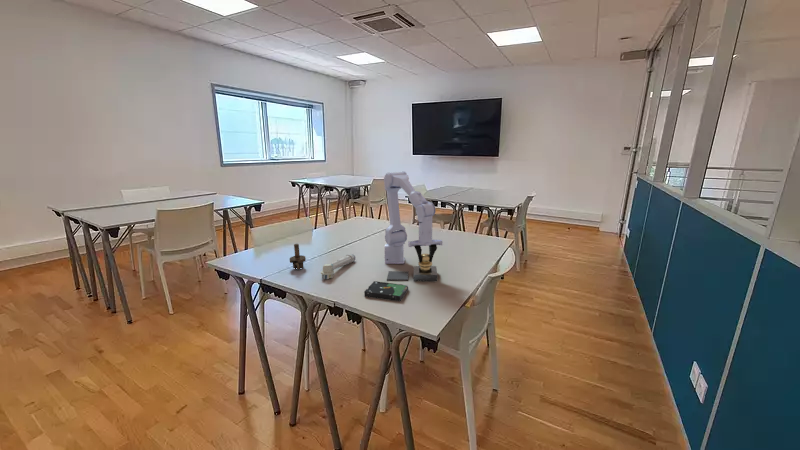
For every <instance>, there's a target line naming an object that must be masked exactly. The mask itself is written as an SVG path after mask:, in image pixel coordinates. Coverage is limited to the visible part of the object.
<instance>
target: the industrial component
mask: <svg viewBox="0 0 800 450" xmlns="http://www.w3.org/2000/svg"><path fill="white" fill-rule="evenodd" d="M293 249H294V255H293V256H290V257H289V264H290V263H291V264H292V268H295V269H296V268H297V269H300V268H303V267H304V263H305V262H306V260H307V257H306V256H305V255H300V245H299V243H294V244H293ZM297 269H296V270H297ZM303 269H304V268H303ZM300 270H301V269H300Z"/></svg>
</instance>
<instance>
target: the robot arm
mask: <svg viewBox="0 0 800 450" xmlns="http://www.w3.org/2000/svg"><path fill="white" fill-rule="evenodd" d="M409 179H410V178H409V175H408V174H407V172H406V171H398V172H396V171H395V172H386V173H385V175H384V177H383V183H384V190H385V191H386V197H387V207H388V219H389V225H388V227H386V229H384V230H385V235H384V239H385V240H384V241H385V242H386V243H385V244H384V264H385V265H386V264H387V265H389V264H392V265H393V264H394V265H395V264H396V265H402V264H403V265H404V264H405V260H406V259H405V253H404V251H405V250H404V249H405V248H404V245H405V244H406V242H407V240H408V234H407V231H406V227H405V226H404V225H402V224H401V223H402V222H401V214H400V204H399V191H400V189H402V190H403V191H404V192H405V193H406V194H407V196H409V197H408V201H409V202H410V203H411V204H412V206H413V207H414V208H415V215H416V216H417V222H418V239H417V240H412V241H408V248H412V247H414V249H415V251H416V254H417V259H418V262H420V263H421V254H422V250H423V249H422V247H424V246H428V251H429V253H428V254H430V262H432V263H433V258H434V255H435V253H436V251H437V249H438V246H443V240H442V239H433V216H435V214H436V206H435V203H434V202H432V201H427V199H426V198H425V196H423V194H422V192H421V191H418V190H415V188H414V187H413V185H412V183H411V182H410V181H409Z"/></svg>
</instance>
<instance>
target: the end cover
mask: <svg viewBox="0 0 800 450" xmlns="http://www.w3.org/2000/svg"><path fill="white" fill-rule="evenodd" d="M417 266H420V272H421V273H429V272H430V266H433V261H432V262H430V254H429V253H421V263H420V262H419V261H418V264H417Z"/></svg>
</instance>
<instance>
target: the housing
mask: <svg viewBox="0 0 800 450" xmlns="http://www.w3.org/2000/svg"><path fill="white" fill-rule="evenodd" d="M413 282H431V283H432V282H433V283H434V282H436V283H437V282H438V269H437V266H436V265H432V266H430V272H429V273H421V272H420V266H419V265H414V266H413Z"/></svg>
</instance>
